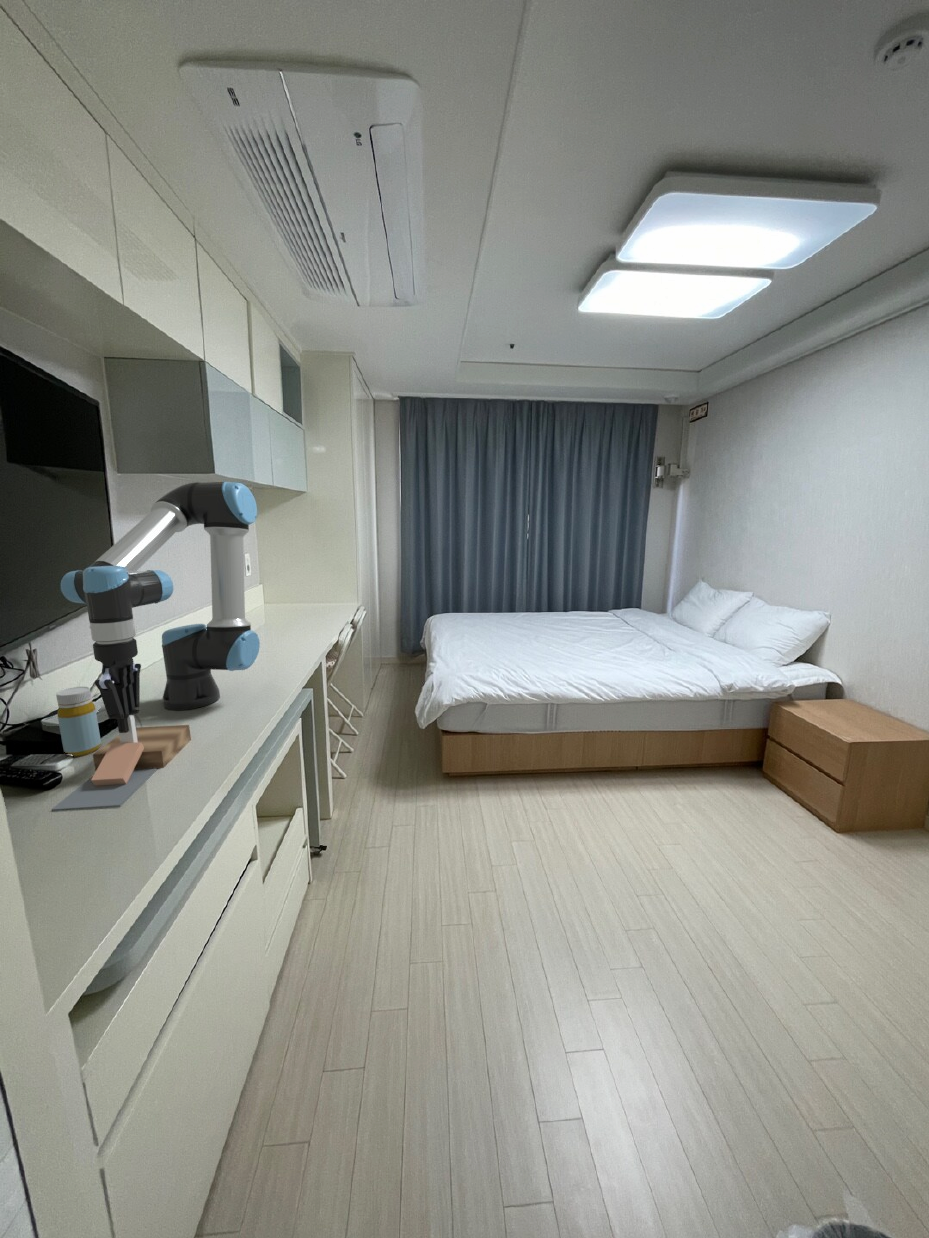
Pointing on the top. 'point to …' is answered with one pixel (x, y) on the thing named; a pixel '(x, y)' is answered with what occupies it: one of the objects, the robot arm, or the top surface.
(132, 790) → the mat
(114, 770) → the tile
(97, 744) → the bottle
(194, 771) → the top surface
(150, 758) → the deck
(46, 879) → the top surface
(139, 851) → the top surface
